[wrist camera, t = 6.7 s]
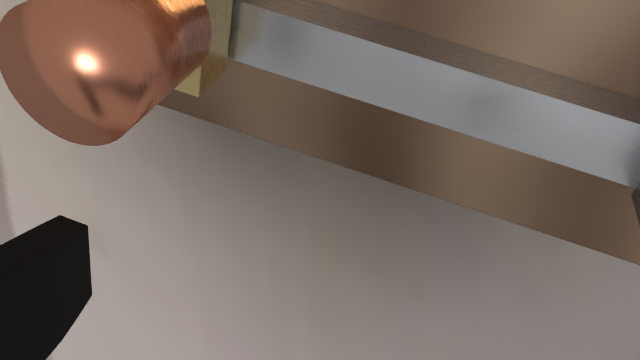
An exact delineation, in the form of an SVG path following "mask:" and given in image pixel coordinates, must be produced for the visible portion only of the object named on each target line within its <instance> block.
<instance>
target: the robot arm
mask: <svg viewBox="0 0 640 360" xmlns="http://www.w3.org/2000/svg"><path fill="white" fill-rule="evenodd" d="M91 296H92V286H91V270H90V254H89V238H88V226H87V225H85V224H82V223H79V222H77V221H74V220H71V219H69V218H66V217H63V216H61V215H59V216H57V217H55V218H53V219H51V220H49V221H47V222H45V223H43V224H41V225H39V226H37V227H35V228H33V229H31V230H29V231H27V232H25V233H23V234H21V235H19V236H17V237H15V238H13V239H11V240H9V241H8V242H6V243H4V244H2V245H0V360H46V359H47V357H48V356H49V355H50V354H51V353H52V351H53V350H54V349H55V348H56V347H57V345H58V344H59V343H60V342H61V341H62V339H63V338H64V336H65V335H66V334H67V332H68V331H69V329H70V328H71V326H72V325H73V323H74V322H75V321H76V319H77V317H78V316H79V314H80V313H81V311H82V310H83V308H84V307H85V305H86V304H87V302H88V300H89V299H90V297H91Z"/></svg>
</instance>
